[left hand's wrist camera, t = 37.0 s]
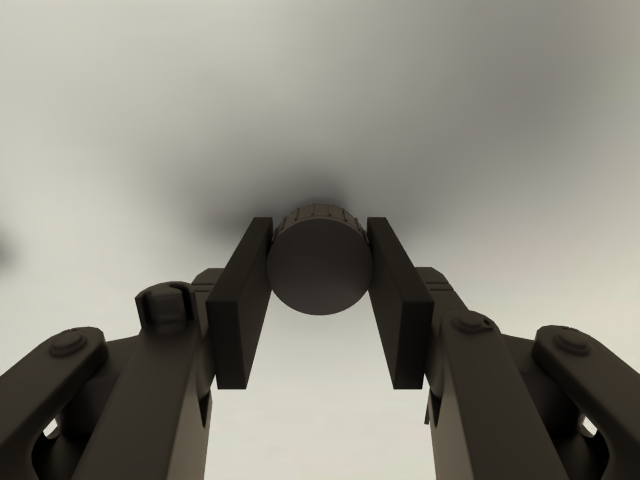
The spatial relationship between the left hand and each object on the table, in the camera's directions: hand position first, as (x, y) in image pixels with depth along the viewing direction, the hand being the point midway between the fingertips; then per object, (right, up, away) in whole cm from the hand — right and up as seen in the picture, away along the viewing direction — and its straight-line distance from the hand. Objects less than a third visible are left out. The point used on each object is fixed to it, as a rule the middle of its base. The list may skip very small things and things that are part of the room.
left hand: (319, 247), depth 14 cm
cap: (0, -1, -2) cm, 2 cm away
